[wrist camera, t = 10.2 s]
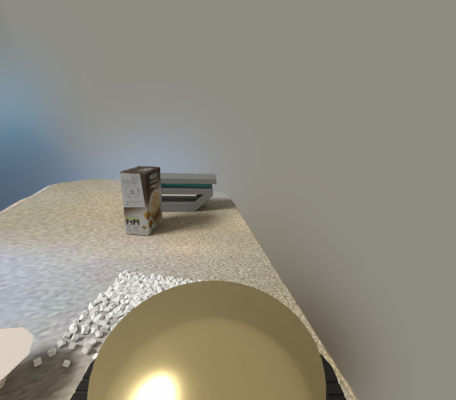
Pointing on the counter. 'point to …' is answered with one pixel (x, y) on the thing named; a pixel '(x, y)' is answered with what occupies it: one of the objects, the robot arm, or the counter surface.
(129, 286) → the salt crystals
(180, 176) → the grey slotted bar
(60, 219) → the counter surface
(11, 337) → the hand towel holder
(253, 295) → the brass pin
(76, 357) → the counter surface
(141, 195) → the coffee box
